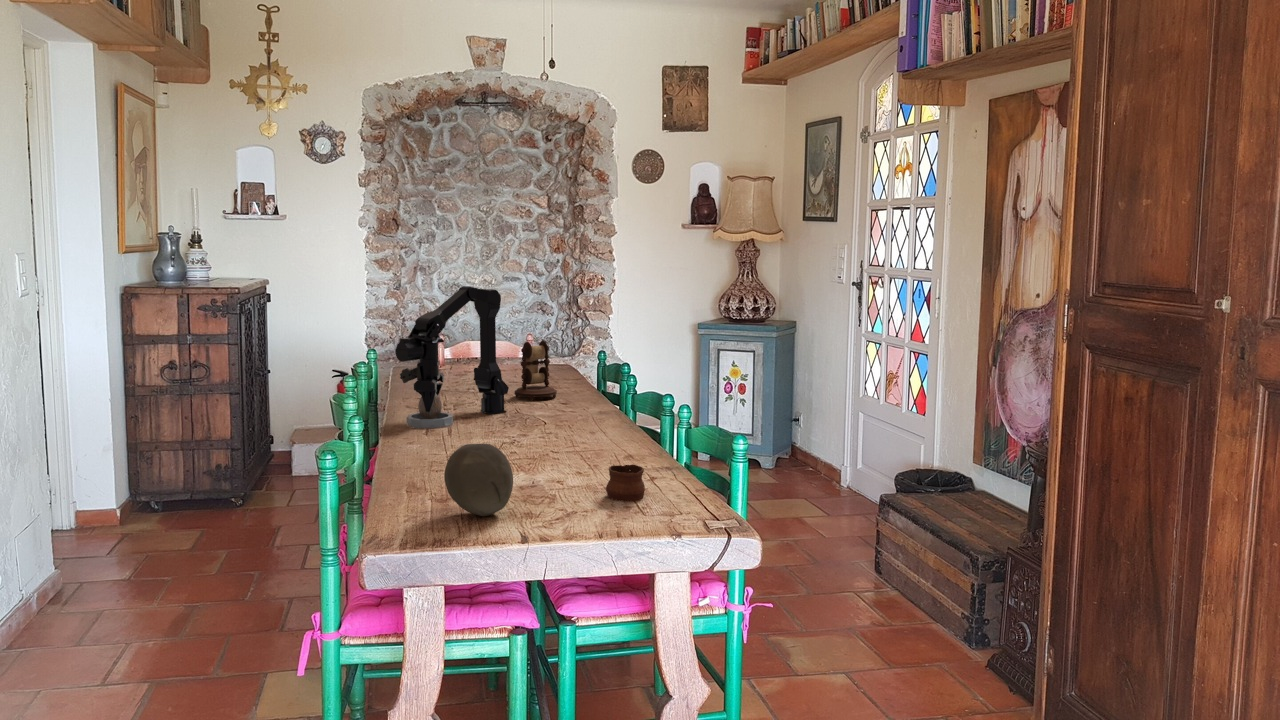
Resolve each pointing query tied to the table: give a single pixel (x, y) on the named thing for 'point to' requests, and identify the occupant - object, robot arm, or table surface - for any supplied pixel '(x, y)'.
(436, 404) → the vase
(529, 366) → the spool holder stand
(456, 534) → the table surface
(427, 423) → the ring dish
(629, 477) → the ceramic pot
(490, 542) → the table surface
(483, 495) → the dark brown round lump
